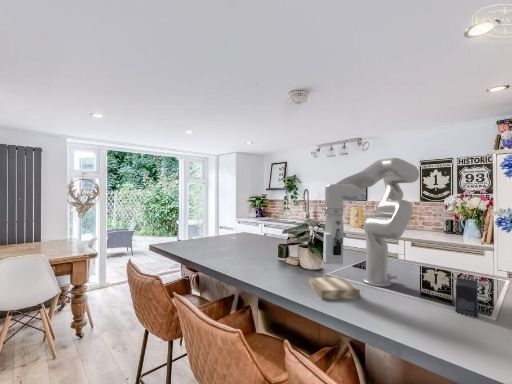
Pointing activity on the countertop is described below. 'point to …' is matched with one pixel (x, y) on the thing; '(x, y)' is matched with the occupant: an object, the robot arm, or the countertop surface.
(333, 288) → the block
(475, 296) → the small box
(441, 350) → the countertop surface
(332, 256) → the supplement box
